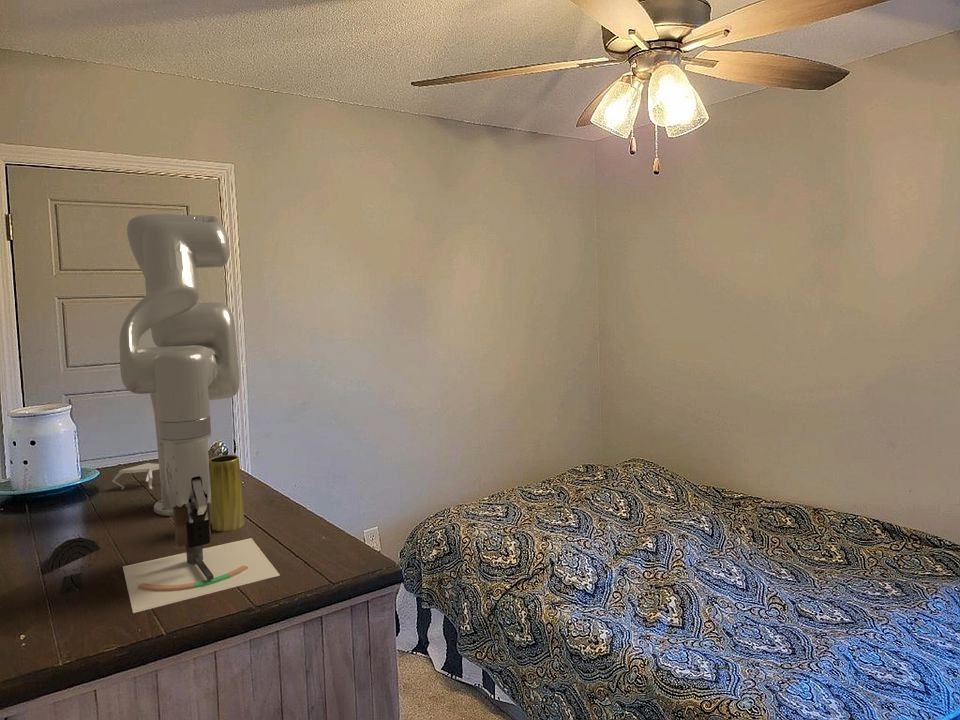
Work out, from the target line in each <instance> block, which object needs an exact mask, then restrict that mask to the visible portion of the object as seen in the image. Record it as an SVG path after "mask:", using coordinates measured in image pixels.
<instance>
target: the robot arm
mask: <svg viewBox="0 0 960 720" xmlns="http://www.w3.org/2000/svg"><path fill="white" fill-rule="evenodd" d="M226 230H227V229H225V226H224V225H223V224H222V222H221V220H220V219H219V218H218V217H217V216H213V215H203V214H202V215H201V214H200V215H197V214H194V215H193V214H192V215H191V214H166V213H163V214H162V213H159V214H157V213H152V214H142V215H137V216H135V217H133V218H131V219H130V220H129V221H128V223H127V226H126V232H127V233H126V235H127V239H128V240H127V241H128V244H129V247H130V249H131V252H132V254H133V257H134V259H135V261H136V263H137V265H138V267H139V269H140V270H141V273H142V274H143V277H144V281H145V286H144V287H145V296H144V297H143V298H142V299H140V301H139V302H138V303H136V304H135V305H134V307H133V308H132V309H131V310H130V311H129V313H128V314H127V315H126V317H125V319H124V321H123V323H122V326H121V329H120V332H119V345H118V346H119V367H120V368H119V369H120V377H121V381H122V384H123V386H124V388H125V389H126V390H128V391H129V392H130V393H132V394H137V395H145V394H147V395H148V394H149V396H150V399H151V403H152V410H153V416H154V424H155V425H154V426H155V436H156V445H157V446H156V447H157V459H158V464H159V469H158V470H159V482H160V492H161V493H160V495H161V496H160V497H161V499H159V500H158V501H156V502H155V503H154V504H153V511H154V513H156V514H158V515H160V516H167V517H168V516H169V517H172V516H173V517H174V515H173V507H176V506H179V507H182V506H183V505H185V506H186V512H187V518H188V522H187V523H186V530H187V543H188V547H189V548H192V547H197V546H201V545H202V546H203V545H207V544H210V542H211V539H210V533H209V520H208V513H207V502H208V503H209V504H211V488H210V474H209V460H210V457H209V456H210V455H209V445H208V439H209V438H211V437H212V427H211V413H210V401H213V400H222V399H223V400H224V399H229V398H233V397H234V396H236V395H237V393H238V392H239V390H240V369H239V368H240V366H239V357H238V346H237V335H236V334H237V333H236V326H235V320H234V315H233V313H232V310H231V309H230V308H229V306H228V305H226V304H224V303H222V302H199V300H200V290H199V289H200V288H199V282H198V281H199V280H198V272H197V269H198V268H199V269H200V268H222V267H225V266H226V265H227V263H228V261H229V259H230V241H229V237H228V234H227V231H226ZM148 330H150V332H151V337H152V340H153V341H152V342H153V343H154V345H155V346H153V347H152V346H151V347H149V346H148V347H140V348H139V341H140V339H141V337H142V336H143V335H144V334H145V333H146V332H147V331H148ZM210 349H211V350H212V351H213V352H214V354H213V353H212V352H211V351H210ZM206 501H207V502H206ZM192 506H195V507H196V508H194V509H193V511H192V510H191V507H192Z"/></svg>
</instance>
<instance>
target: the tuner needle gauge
mask: <svg viewBox="0 0 960 720" xmlns="http://www.w3.org/2000/svg"><path fill="white" fill-rule="evenodd" d="M206 502H207V501H206ZM194 508H196V507H195V506H192V507H191V510H192V511H193V509H194ZM207 513H208V520H209V533H210V540H212V529H211V528H212V525H211V515H210V503H208V502H207ZM187 522H188V518H187V512H186V506H185V505H183V506H182V507H179V506H176V507H173V527H174V528H173V529H174V537H175V538H174V540H175V545H176V546H177V547H178V548H179V547H182V546H185V553H186V554H187V562H188V563H196V564H197V566H198V567H199V569H200V570H201V571H202V573H203V574H204V576H205V577H206V578H207V580H211V579H214V578H213V574H212V573H211V571H210V570H209V569H208V567H207V566H206V565H205V563H204V562H203V561H202V560H203V549H204V548H203V545H201V546H197V547H192V548H189V547H188V543H187V530H186V523H187Z"/></svg>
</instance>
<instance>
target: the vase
mask: <svg viewBox="0 0 960 720" xmlns="http://www.w3.org/2000/svg"><path fill="white" fill-rule="evenodd" d="M209 474H210V488H211V503H210V505H211V506H210V507H211V508H210V509H211V528H212V529H211V531H212V530H213V531H216V532H229V531H234V530H238V529H241V528H242V527H243V526H245V515H244V513H245V512H244V511H245V509H244V501H243V491H242V490H243V487H242V477H241V465H240V457H239V456H238V455H235V454H223V455H218V456H214V457H211V458H209Z"/></svg>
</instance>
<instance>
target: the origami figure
mask: <svg viewBox="0 0 960 720" xmlns="http://www.w3.org/2000/svg"><path fill="white" fill-rule="evenodd" d="M156 470H159V463H150V462H147V463H144V464H140V465H134V466H131V467H127V468H124V469H120V470H119V471H118V473H117V474H116V475H115V476H114V478H113V479H112V480H111V482H112V483H113V484H115V485H118V486H119V487H121V488H120V489H121V490H124V489H125V486H124V485H122V484H120V483H119V482H117V480H118V479H119V478H120V477H121V476H122V475H123V474H135V473H146V472H147V473H146V476H145V482H147V483H148V488H149V490H152V489H153V486H152V484H153V471H156Z"/></svg>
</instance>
